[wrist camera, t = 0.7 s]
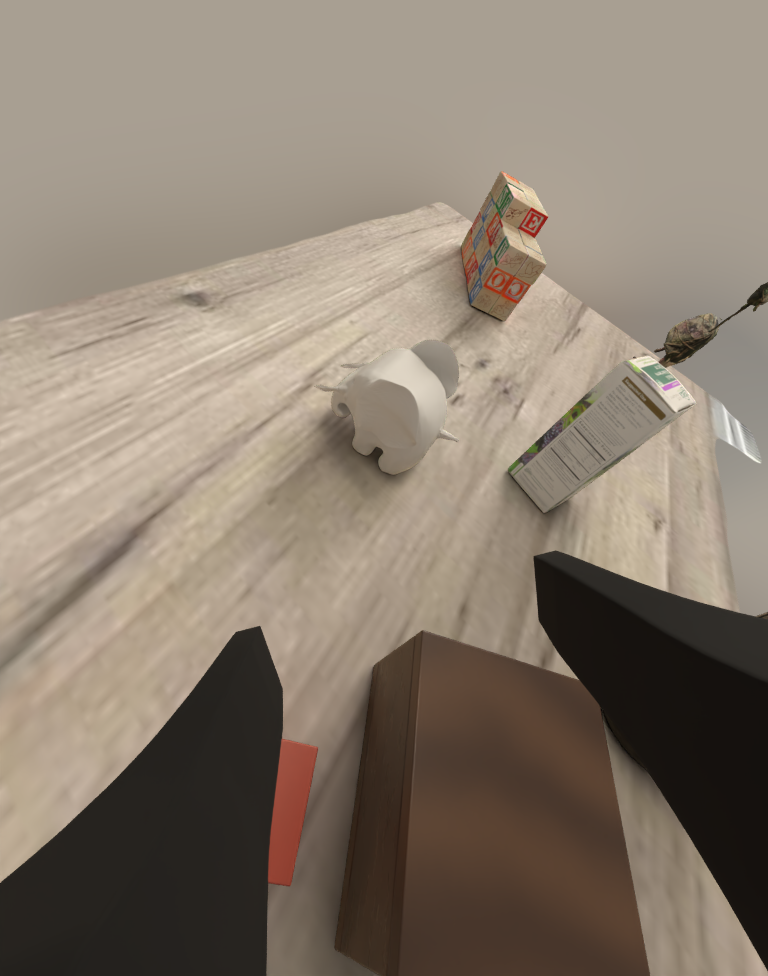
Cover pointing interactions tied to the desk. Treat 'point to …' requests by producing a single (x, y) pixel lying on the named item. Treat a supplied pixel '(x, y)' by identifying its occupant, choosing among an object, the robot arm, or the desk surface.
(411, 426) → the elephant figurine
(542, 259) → the stack of blocks
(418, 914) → the brown open wooden box
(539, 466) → the syrup box
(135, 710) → the desk surface
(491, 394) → the desk surface
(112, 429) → the desk surface
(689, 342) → the brown bird figurine
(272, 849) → the block
